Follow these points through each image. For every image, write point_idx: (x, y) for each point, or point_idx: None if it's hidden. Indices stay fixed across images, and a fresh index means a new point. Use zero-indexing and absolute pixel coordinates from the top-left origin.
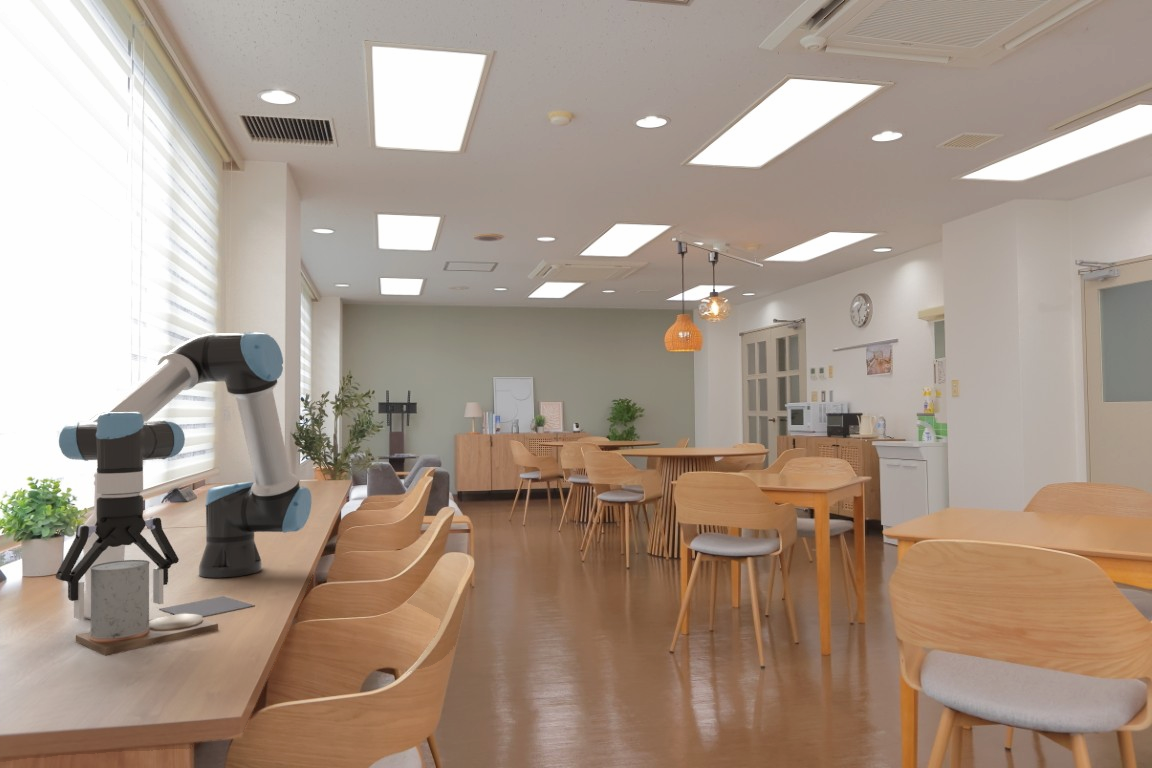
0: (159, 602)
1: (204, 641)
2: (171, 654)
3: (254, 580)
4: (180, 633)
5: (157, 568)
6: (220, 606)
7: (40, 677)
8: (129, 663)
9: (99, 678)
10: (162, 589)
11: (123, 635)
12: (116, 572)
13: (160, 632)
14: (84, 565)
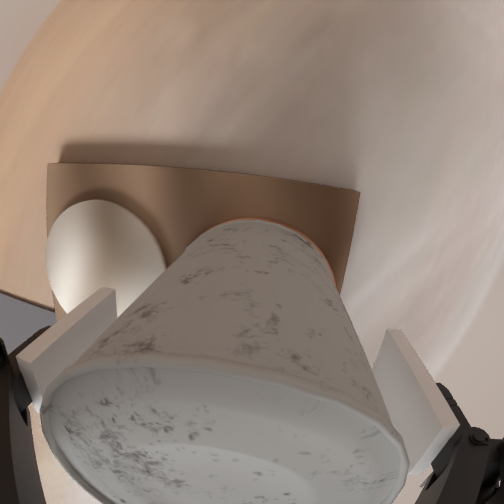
0: (111, 291)
1: (128, 81)
2: (246, 36)
3: None
4: (136, 165)
5: (35, 399)
6: (10, 337)
7: (498, 168)
8: (355, 61)
9: (440, 36)
10: (75, 310)
11: (284, 229)
12: (349, 389)
13: (168, 214)
14: (471, 499)
